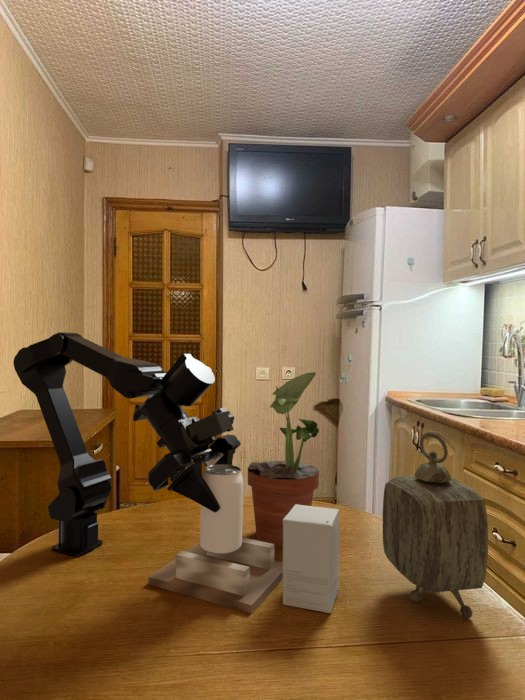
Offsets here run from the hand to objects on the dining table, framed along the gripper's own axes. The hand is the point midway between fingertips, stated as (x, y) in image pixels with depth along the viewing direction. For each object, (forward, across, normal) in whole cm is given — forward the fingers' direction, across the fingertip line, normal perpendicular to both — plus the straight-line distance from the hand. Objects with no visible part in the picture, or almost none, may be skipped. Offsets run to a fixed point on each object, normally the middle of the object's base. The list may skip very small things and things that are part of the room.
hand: (229, 503), depth 73 cm
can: (+4, 0, +6) cm, 7 cm away
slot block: (+8, +3, +11) cm, 14 cm away
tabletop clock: (+29, +11, -11) cm, 33 cm away
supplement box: (+18, +4, +1) cm, 19 cm away
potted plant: (+9, +24, +10) cm, 27 cm away
